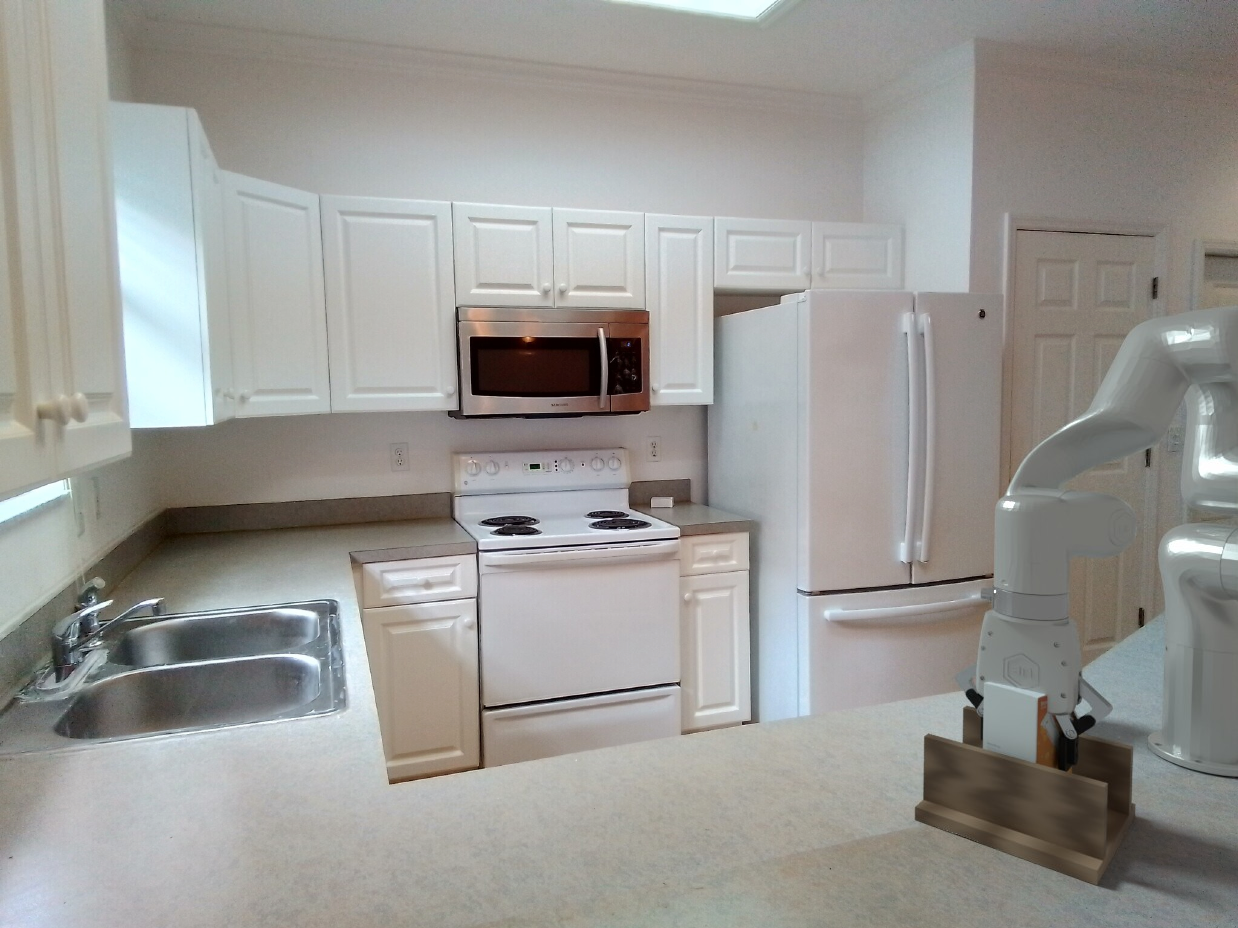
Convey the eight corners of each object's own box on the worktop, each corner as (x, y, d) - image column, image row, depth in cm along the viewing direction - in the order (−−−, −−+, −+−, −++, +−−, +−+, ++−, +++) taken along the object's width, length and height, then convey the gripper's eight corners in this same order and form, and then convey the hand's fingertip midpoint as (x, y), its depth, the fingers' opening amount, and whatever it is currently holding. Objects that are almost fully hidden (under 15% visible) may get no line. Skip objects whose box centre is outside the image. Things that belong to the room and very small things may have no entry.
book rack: (914, 819, 87) (915, 742, 86) (971, 768, 99) (973, 700, 99) (1096, 885, 74) (1099, 795, 74) (1135, 816, 87) (1137, 739, 86)
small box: (1036, 816, 82) (1038, 697, 81) (980, 792, 87) (981, 681, 86) (1073, 795, 86) (1076, 682, 86) (1018, 774, 92) (1020, 668, 91)
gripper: (939, 598, 89) (937, 746, 90) (1113, 624, 77) (1108, 795, 78) (963, 588, 94) (961, 727, 95) (1128, 610, 82) (1124, 770, 83)
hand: (1027, 756), depth 86 cm, fingers closed on small box, 7 cm apart
